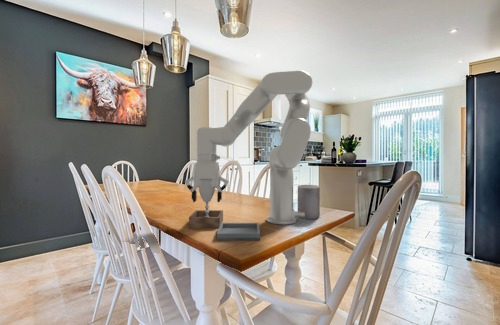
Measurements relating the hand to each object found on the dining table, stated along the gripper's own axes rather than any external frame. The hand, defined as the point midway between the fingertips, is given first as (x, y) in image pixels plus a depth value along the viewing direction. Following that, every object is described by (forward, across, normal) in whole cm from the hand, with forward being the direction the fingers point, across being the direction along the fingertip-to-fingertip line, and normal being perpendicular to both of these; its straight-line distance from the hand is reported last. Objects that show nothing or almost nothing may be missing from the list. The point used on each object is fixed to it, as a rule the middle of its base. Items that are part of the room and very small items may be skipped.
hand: (206, 201), depth 95 cm
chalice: (+9, 0, 0) cm, 9 cm away
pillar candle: (+9, -44, -12) cm, 46 cm away
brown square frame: (+9, 0, 0) cm, 9 cm away
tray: (+9, -14, +12) cm, 21 cm away
